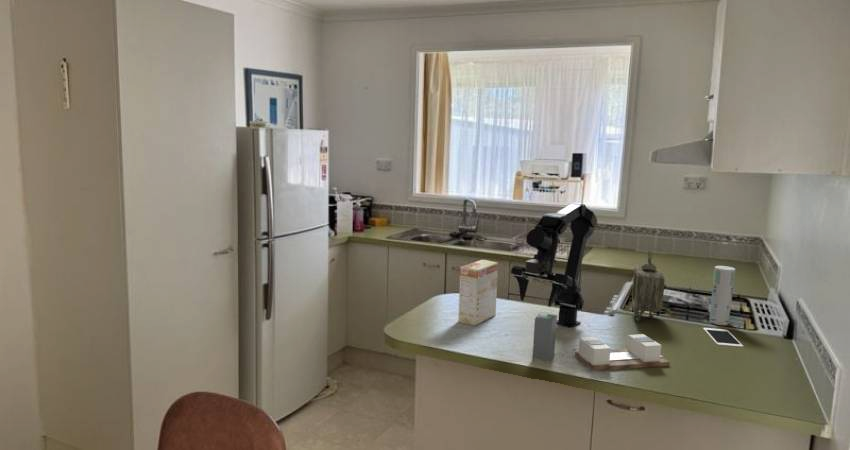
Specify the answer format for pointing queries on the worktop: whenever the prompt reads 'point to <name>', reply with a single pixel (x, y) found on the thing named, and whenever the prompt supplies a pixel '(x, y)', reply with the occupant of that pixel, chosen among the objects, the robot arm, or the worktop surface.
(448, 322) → the worktop surface
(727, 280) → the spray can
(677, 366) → the worktop surface
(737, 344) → the cell phone
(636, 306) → the mop head
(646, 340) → the mounted modules
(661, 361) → the rail board
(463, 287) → the coffeecake box
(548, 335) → the block
